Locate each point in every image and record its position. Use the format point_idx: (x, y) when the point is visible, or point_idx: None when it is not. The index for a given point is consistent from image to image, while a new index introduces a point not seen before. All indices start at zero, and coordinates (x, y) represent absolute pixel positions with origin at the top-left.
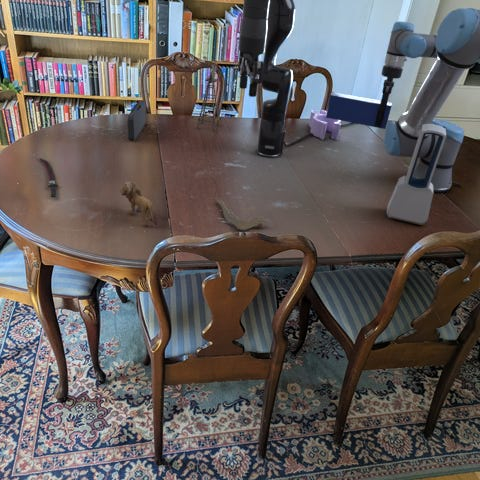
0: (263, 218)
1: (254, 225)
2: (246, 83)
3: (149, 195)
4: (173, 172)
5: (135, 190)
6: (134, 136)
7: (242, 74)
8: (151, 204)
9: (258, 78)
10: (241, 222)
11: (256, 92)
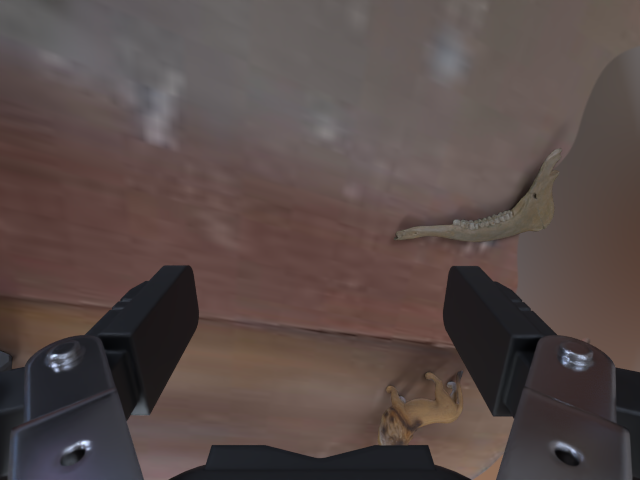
0: (548, 162)
1: (551, 190)
2: (173, 293)
3: (329, 362)
4: (214, 297)
5: (411, 436)
6: (3, 362)
7: (125, 417)
8: (453, 406)
9: (613, 397)
10: (528, 218)
11: (490, 282)
